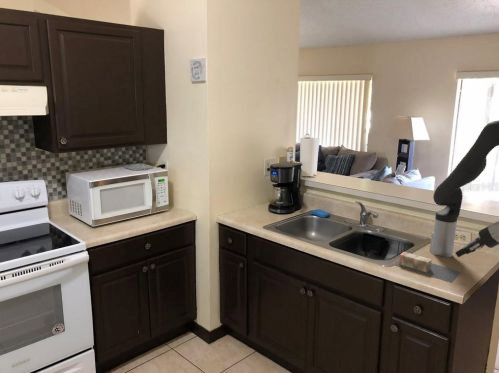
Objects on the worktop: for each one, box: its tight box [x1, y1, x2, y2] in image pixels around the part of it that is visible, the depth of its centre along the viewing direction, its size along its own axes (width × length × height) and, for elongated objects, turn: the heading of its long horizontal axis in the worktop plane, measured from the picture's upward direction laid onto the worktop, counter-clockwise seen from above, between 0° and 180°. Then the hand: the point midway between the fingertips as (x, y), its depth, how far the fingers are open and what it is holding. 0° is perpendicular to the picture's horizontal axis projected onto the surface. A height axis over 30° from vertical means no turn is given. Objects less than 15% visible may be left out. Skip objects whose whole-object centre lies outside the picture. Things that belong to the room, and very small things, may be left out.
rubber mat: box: [394, 261, 463, 283], centre depth 179 cm, size 24×14×1 cm, turn 47°
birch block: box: [398, 251, 433, 272], centre depth 180 cm, size 4×4×12 cm
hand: (457, 254), depth 168 cm, fingers closed
